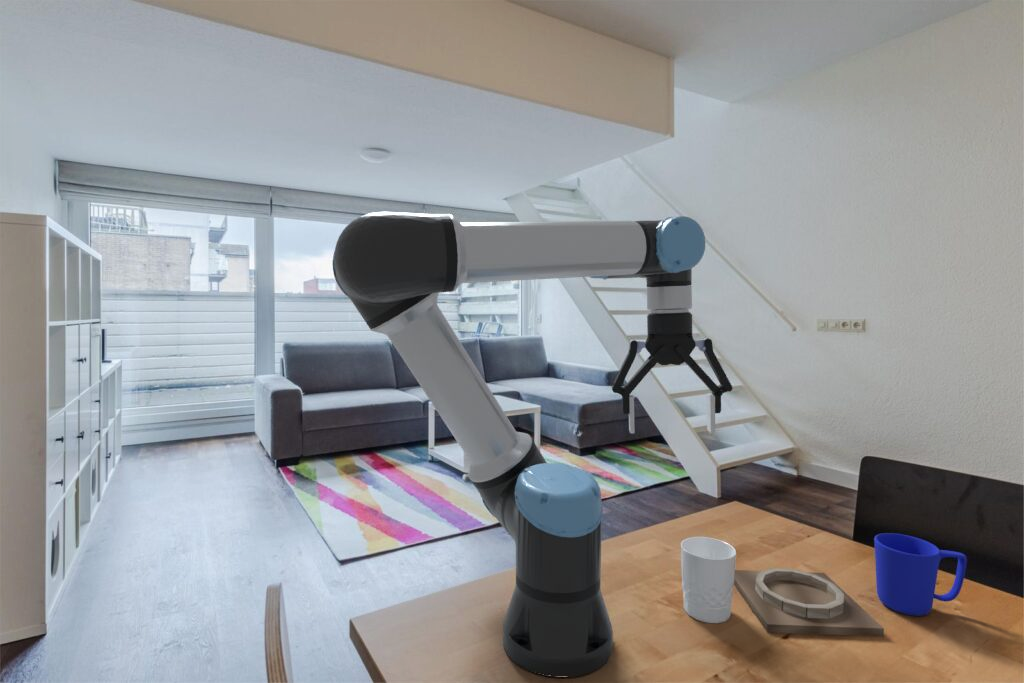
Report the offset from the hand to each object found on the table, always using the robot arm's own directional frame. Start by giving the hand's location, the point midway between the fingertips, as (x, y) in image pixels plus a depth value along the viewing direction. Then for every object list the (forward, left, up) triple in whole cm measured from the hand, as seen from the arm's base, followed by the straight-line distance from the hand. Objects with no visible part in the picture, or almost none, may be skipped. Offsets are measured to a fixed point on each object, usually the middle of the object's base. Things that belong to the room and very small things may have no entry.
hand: (671, 431), depth 94 cm
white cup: (+2, -14, -25) cm, 29 cm away
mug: (+35, -11, -25) cm, 45 cm away
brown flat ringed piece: (+17, -11, -25) cm, 32 cm away
